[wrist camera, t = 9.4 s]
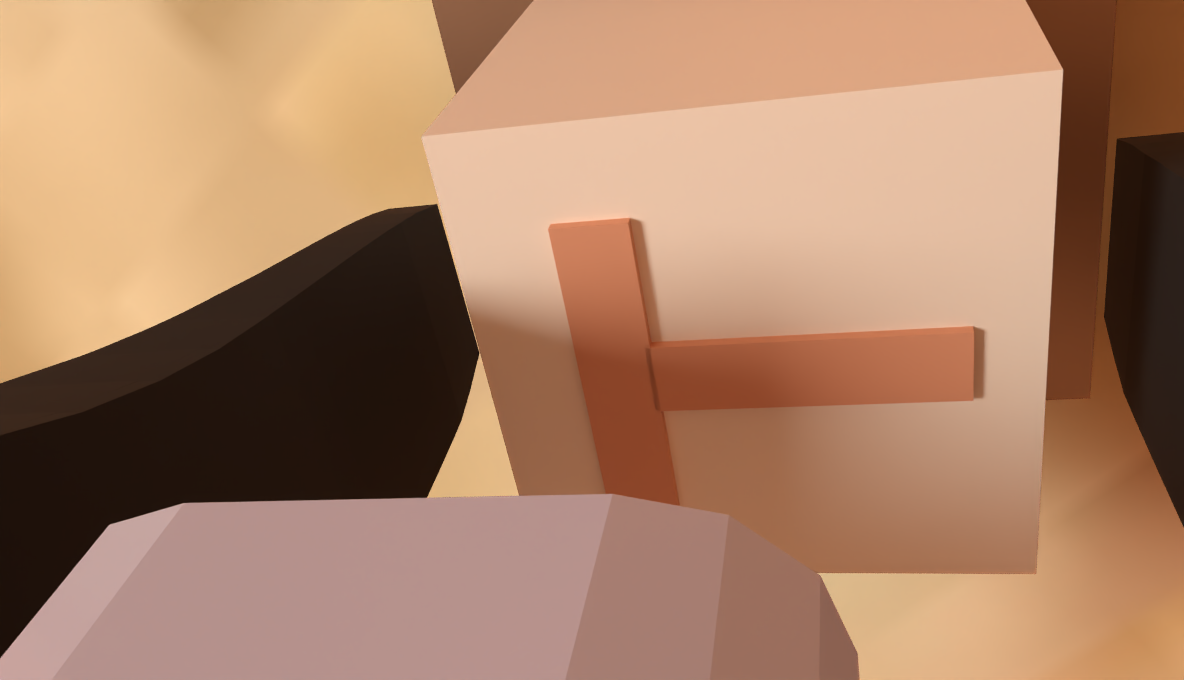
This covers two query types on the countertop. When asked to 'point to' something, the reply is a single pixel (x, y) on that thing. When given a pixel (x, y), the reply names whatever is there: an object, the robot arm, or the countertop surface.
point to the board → (1085, 52)
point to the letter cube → (770, 265)
